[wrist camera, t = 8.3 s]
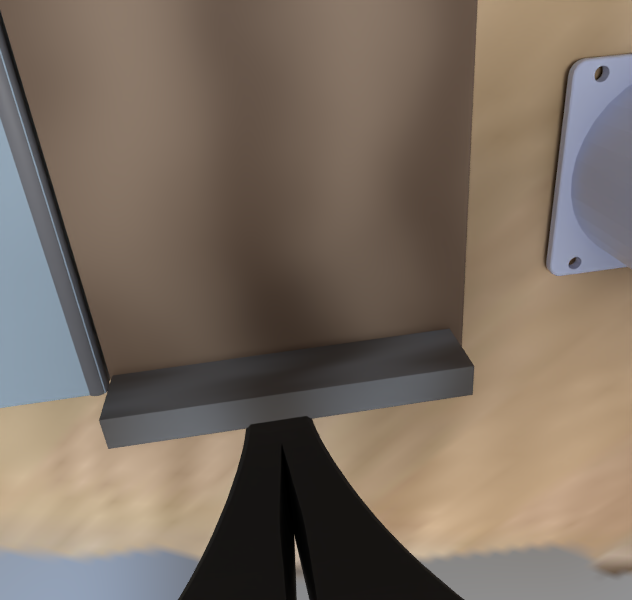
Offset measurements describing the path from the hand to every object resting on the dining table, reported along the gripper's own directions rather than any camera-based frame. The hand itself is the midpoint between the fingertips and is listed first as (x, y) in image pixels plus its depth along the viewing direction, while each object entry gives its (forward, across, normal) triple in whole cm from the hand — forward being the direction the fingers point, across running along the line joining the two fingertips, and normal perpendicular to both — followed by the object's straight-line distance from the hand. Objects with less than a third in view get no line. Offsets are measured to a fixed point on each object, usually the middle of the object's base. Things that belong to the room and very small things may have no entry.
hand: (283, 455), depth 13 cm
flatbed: (+10, -1, -6) cm, 12 cm away
